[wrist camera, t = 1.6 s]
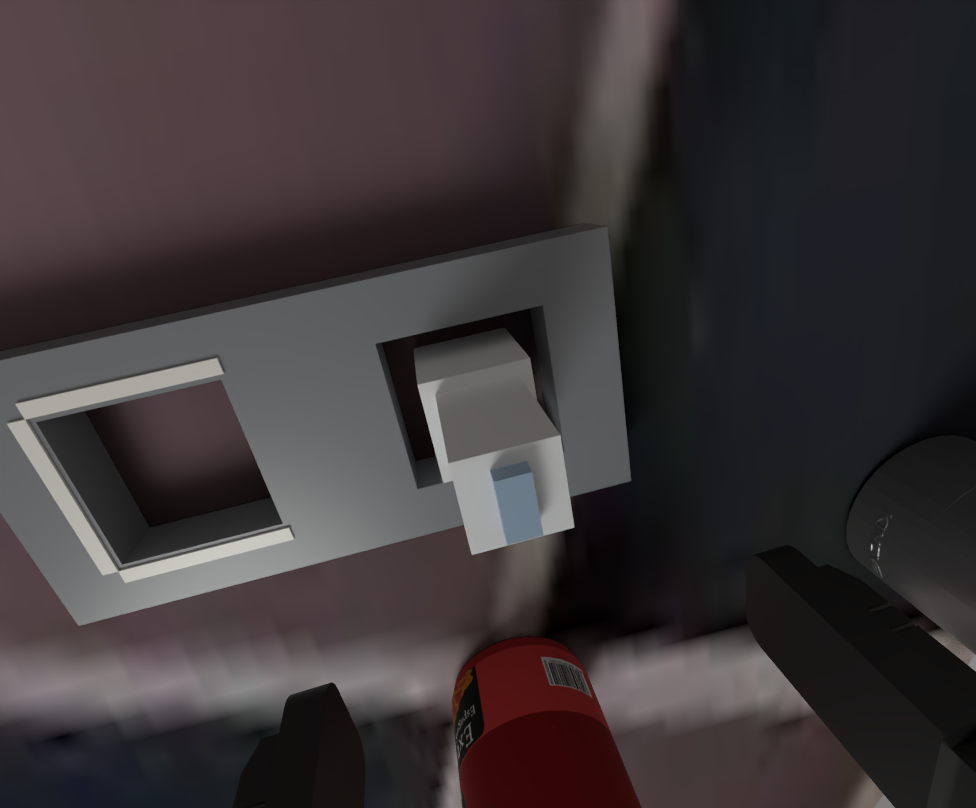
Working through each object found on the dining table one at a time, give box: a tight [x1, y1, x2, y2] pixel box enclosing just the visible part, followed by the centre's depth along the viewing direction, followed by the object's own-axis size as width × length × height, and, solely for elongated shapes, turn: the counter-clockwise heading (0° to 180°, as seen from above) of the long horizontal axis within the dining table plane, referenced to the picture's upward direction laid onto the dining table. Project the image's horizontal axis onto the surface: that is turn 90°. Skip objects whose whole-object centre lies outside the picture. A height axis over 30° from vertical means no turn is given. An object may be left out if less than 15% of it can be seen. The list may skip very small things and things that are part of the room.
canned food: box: [452, 637, 641, 808], centre depth 25 cm, size 8×8×11 cm
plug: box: [413, 327, 574, 555], centre depth 18 cm, size 4×4×10 cm
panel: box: [0, 223, 631, 626], centre depth 21 cm, size 24×11×3 cm, turn 101°
